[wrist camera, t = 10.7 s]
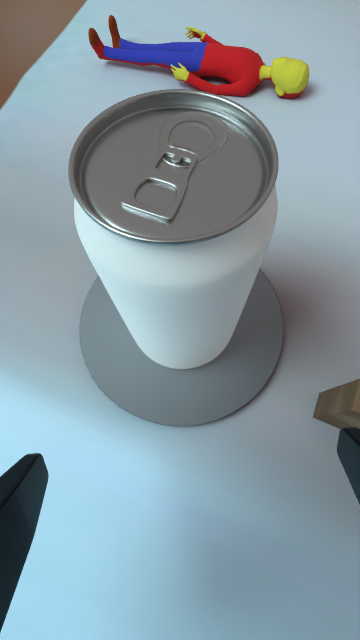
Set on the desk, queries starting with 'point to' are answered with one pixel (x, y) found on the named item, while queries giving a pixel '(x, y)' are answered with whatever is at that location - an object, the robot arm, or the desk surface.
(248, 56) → the character figure
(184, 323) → the can
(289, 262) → the desk surface
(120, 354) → the pad
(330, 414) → the partition
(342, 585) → the desk surface
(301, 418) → the desk surface
